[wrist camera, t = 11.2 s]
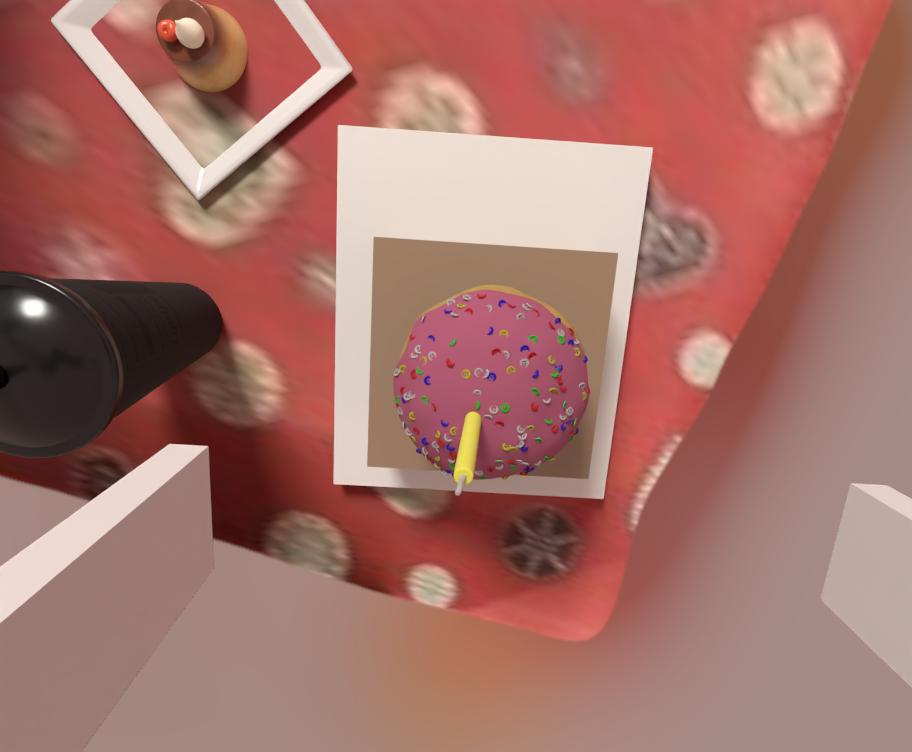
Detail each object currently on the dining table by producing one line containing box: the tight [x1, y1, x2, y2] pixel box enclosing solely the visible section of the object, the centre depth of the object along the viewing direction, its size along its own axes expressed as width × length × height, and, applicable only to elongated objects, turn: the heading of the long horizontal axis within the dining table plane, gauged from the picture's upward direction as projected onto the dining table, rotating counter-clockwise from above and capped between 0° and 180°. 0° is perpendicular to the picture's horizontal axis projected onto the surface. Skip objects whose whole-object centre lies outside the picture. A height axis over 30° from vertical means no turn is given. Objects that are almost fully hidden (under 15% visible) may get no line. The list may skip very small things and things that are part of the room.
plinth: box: [334, 125, 653, 499], centre depth 31 cm, size 18×22×8 cm
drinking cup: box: [0, 271, 222, 458], centre depth 25 cm, size 8×8×20 cm
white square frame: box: [51, 0, 352, 200], centre depth 29 cm, size 12×12×5 cm
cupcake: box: [393, 285, 590, 496], centre depth 22 cm, size 9×8×12 cm
